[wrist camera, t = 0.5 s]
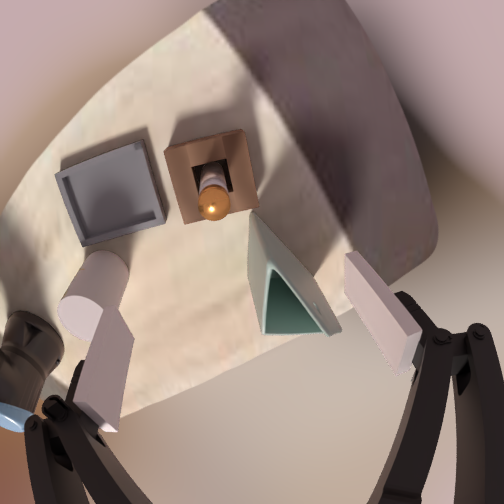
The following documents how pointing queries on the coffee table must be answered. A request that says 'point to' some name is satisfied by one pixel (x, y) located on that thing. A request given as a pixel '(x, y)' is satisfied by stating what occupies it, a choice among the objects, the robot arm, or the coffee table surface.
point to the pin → (213, 193)
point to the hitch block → (207, 151)
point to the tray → (111, 194)
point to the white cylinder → (93, 293)
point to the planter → (284, 288)
